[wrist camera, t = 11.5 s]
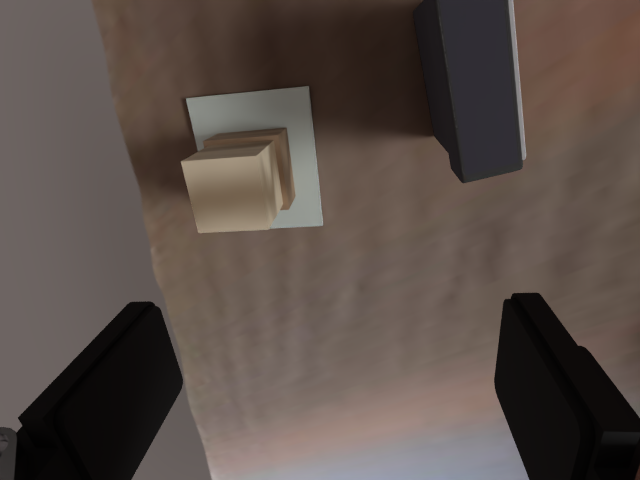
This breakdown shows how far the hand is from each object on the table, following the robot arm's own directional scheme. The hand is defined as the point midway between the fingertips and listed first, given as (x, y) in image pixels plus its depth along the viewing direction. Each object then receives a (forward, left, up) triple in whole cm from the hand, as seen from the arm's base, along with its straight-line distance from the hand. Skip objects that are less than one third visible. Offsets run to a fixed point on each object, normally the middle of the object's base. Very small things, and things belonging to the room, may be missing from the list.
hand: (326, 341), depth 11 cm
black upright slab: (-5, +8, -31) cm, 32 cm away
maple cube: (+2, -10, -26) cm, 28 cm away
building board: (+2, -10, -30) cm, 32 cm away
